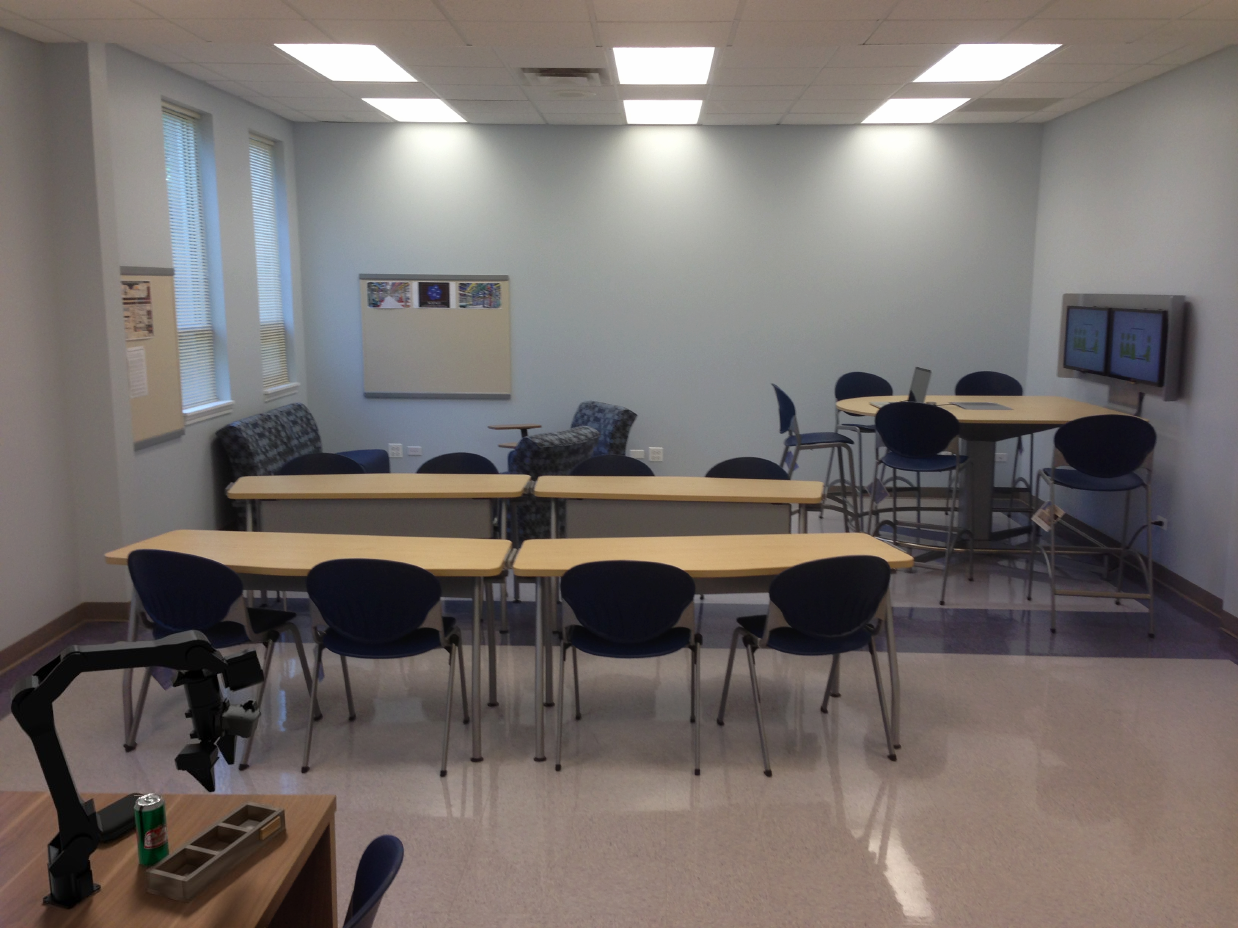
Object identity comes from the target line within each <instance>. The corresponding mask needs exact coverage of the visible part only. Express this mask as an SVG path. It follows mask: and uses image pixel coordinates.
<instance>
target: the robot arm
mask: <svg viewBox="0 0 1238 928" xmlns="http://www.w3.org/2000/svg"><path fill="white" fill-rule="evenodd" d="M220 651H221V650H217V649H216V648H215V647H213V646H212V644H211V642H210V641H209V639H208V637H207V636H206V634H204V633H203V632H202V631H200V630H196V629H191V630H185V631H181V632H177V633H173V634H172V633H171V634H168V635H167V636H164V637H162V638H159V639H154V640H145V641H144V640H143V641H133V642H132V641H128V642H118V643H117V642H116V643H101V644H90V645H89V644H88V645H80V644H79V645H78V644H73V645H69V646H67V647H65V648H64V649H62V651H61V652H60V653H58V654H57V655H56V656H55V657H52V658H51V659H50V660H49V661H48V662H46V663H44V664H43V665H41V666H40V667H39V668H38V669H36V670H35V671H34V672H33V673H32V674H30V675H28V676H24V677H22V678H20V679H19V680H17V681H16V682H15V683H14V684H13V686H12V688H11V689H10V711H11V714H12V716H13V717H14V720H16V722H17V723H18V725H19V727H20V728H21V730H22V731H23V732H24V733H25V734H26V736H28V738H29V739H30V741H31V743H32V746H33V748H34V751H35V754H36V757H37V759H38V762H39V764H40V765H39V766H40V768H41V771H42V773H43V774H42V775H43V776H44V779H45V782H46V785H47V788H48V791H49V793H50V795H51V799H52V802H53V804H54V806H55V807H54V808H55V809H56V815H57V822H58V823H57V824H58V832H57V833H56V834H55V835H54V836H53V838H52V839H51V840H49V842H48V844H47V845H46V849H47V863H46V865H47V873H48V875H47V876H48V882H49V885H48V886H49V892H50V893H48V894H46V895H45V896H44V897H42V902H43V903H47V904H50V905H54V906H57V907H60V908H63V909H73V908H74V907H75V906H77V905H79V904H80V903H81V902H83V901H84V900H86V899H87V898H88V897H90V896H92V895H93V894H95V893H97V892H98V891H99V890H101V888H102V885H101V884H99V883H95V882H94V877H93V875H94V874H93V870H92V867H91V860H90V856H91V855H92V854H93V853H95V852H96V850H97V849H98V848H99V846H100V844H101V842H100V838H99V834H103V830H102V825H101V819H100V815H99V814H98V813H97V812H98V811H96V810H97V809H96V806H95V799H94V798H93V797H92V798H90V799H89V800H87V801H85V800H84V799H83V798H82V796H81V795H80V793H79V791H78V788H77V783H76V782H75V779H74V777H73V774H72V770H71V768H70V765H69V762H68V761H69V760H68V758H67V756H66V753H65V750H64V747H63V744H62V742H61V739H60V736H59V733H58V730H57V728H56V724H55V723H56V722H55V715H54V708H53V703H54V702H55V701H56V700H57V699H58V698H59V697H60V696H62V694H64V692H65V690H66V689H68V687H69V686H70V685H71V683H72V682H73V681H74V680H75V679H77V677H78V676H80V674H82V673H91V672H102V671H103V672H105V671H114V670H125V669H127V670H128V669H138V668H139V669H140V668H150V667H151V668H152V667H159V668H160V667H161V668H166V669H170V670H175V673H173V675H172V676H171V677H170V678H169V681H170V683H171V685H172V687H173V688H177V687H180V686H183V689H184V693H185V694H184V695H185V697H186V703H187V706H188V708H187V710H186V711H185V712H184V717H185V719H189V718H190V720H191V724H192V731H190V733H189V738H190V740H193V739H197V740H198V741H199V742H197V743H189V744H185V746H184V747H183V748H182V749H181V750H180V752H179V753H178V754H177V755H176V757H175V758H174V760H173V761H174V763H175V764H174V765H175V769H176V770H177V771H182V772H185V771H186V772H187V773H188V774H189V775H191V776H192V777H193V778H194V779H195V780H196V781H197V782H198V783H199V784H200V785H201V786H202V787H203V788H204V789H205V790H206V792H208V793H214V792H216V777H215V765H216V764H217V762H218V761H219V760H220V758H221V757H220V756H219V752H220V754H221V755H222V757H223V758H224V760H225V762H226V764H227V765H228V766H232V765H234V764H235V762H236V761H235V760H236V752H237V741H238V737H240V738H242V739H249V738H251V737H252V736H253V734H254V733H255V731H256V730H257V729H258V724H259V719H260V717H261V716H262V711H261V708H260V707H259V705H258V701H257V699H254V698H247V699H246V701H245V702H244V703H243V704H242V703H236V704H231V703H230V699H228V697H223V695H222V691H221V686H220V681H219V677H218V675H220V679H221V683H222V686H223V688H224V689H229V691H230V692H231V693H235V692H237V691H242V690H244V689H248V688H250V687H255V686H257V685H260V684H264V683H265V674H264V669H263V667H262V666H261V663H260V660H259V657H258V654H257V650H256V649H255V647H249V648H246V649H244V650H242V651H239V652H236V653H232V654H228V655H226V656H225V655H224V656H223V654H222V652H220Z"/></svg>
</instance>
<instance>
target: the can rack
mask: <svg viewBox="0 0 1238 928" xmlns="http://www.w3.org/2000/svg"><path fill="white" fill-rule="evenodd" d="M285 812H286V811H285V808H281V807H276V806H272V805H267V804H263V803H257V802H253V801H248V800H246V801H244V802H243V803H242V804H240V805H239V806H237V807H236V808H235V809H233V810H232V811H230V812H229V813H227V814H226V815H224V816H223V817H222V818H220V819H219V820H217V821H216V822H214V823H213V824H211V825H210V826H208V827H207V828H205V829H204V830H202V831H201V832H200V833H198V834H196V835H195V836H194V837H192V838H191V839H190V840H188V841H187V842H185V843H184V844H182V845H180V846H179V847H178V848H177V849H175V850H174V851H172V852H171V853H169V855H168V856H166V857H165V858H163V859H162V860H161V861H159V862H158V863H156V864H155V865H153V866H151V867H149V868H148V869H146V870H144V872H145V885H146V891H147V892H146V893H149V894H153V895H157V896H159V897H164V898H166V899H167V898H168V899H171V900H174V901H175V900H176V901H178V902H183V903H187V904H189V903H190V902H192V901H193V900H195V898H197V897H198V896H199V895H201V894H202V893H203V892H205V891H206V890H208V889H209V888H210V887H211V886H213V885H214V884H215V883H216V882H218V881H219V880H220V879H222V878H223V877H224V876H226V875H227V874H228V873H229V872H231V871H232V870H234V869H235V868H236V867H237V866H238V865H240V864H241V863H242V862H244V861H245V860H246V859H248V858H249V857H250V856H252V855H253V854H254V853H256V852H257V851H258V850H259V849H260V848H262V847H263V846H264V845H266V844H267V843H268V842H270V841H271V840H272V839H273V838H275V837H276V836H277V835H279V834H280V833H281V832H282V831H284V830H286V828H287V827H286V814H285Z"/></svg>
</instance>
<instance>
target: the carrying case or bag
mask: <svg viewBox="0 0 1238 928" xmlns="http://www.w3.org/2000/svg"><path fill="white" fill-rule="evenodd" d="M134 795H145V794H144V793H143V794H142V793H140V792H132V793H130V794H127V795H126V796H124V797H122V798H120V799H118V800H116V801H114V802H112V803H110V804H109V805H107V806H104V807H103V808H101V809H100V810H97V811H96V812H97V813H98V814H99V815H100V819H101V825H102V830H103V834H99V838H100V843H104V844H107V843H111V842H113V841H115V840H117V839H118V838H121V837H122V836H124V835H125V834H127V833H129V832H131V831H132V830H133V831H134V829H136V826H135V816H134V806H135V805H136V800H137V799H138V798H140V797H142V796H134Z"/></svg>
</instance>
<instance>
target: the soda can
mask: <svg viewBox="0 0 1238 928" xmlns="http://www.w3.org/2000/svg"><path fill="white" fill-rule="evenodd" d="M134 816H135V826H136V828H135V836H136V845H137V858H138V863H140V865H141V866H143V867H149V868H150V867H152V866H153V865H155V864H156V863H158V862H159V861H161V860H162V859H163V858H165V857H166V856H168V855H169V854H170V848H169V846H170V845H169V836H168V835H169V833H168V822H167V811H166V802H165V800H164V798H163V796H162V794H159V793H148V794H144V796H142V797H140V798H138V799H137V800H136V805H135V806H134Z"/></svg>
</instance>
